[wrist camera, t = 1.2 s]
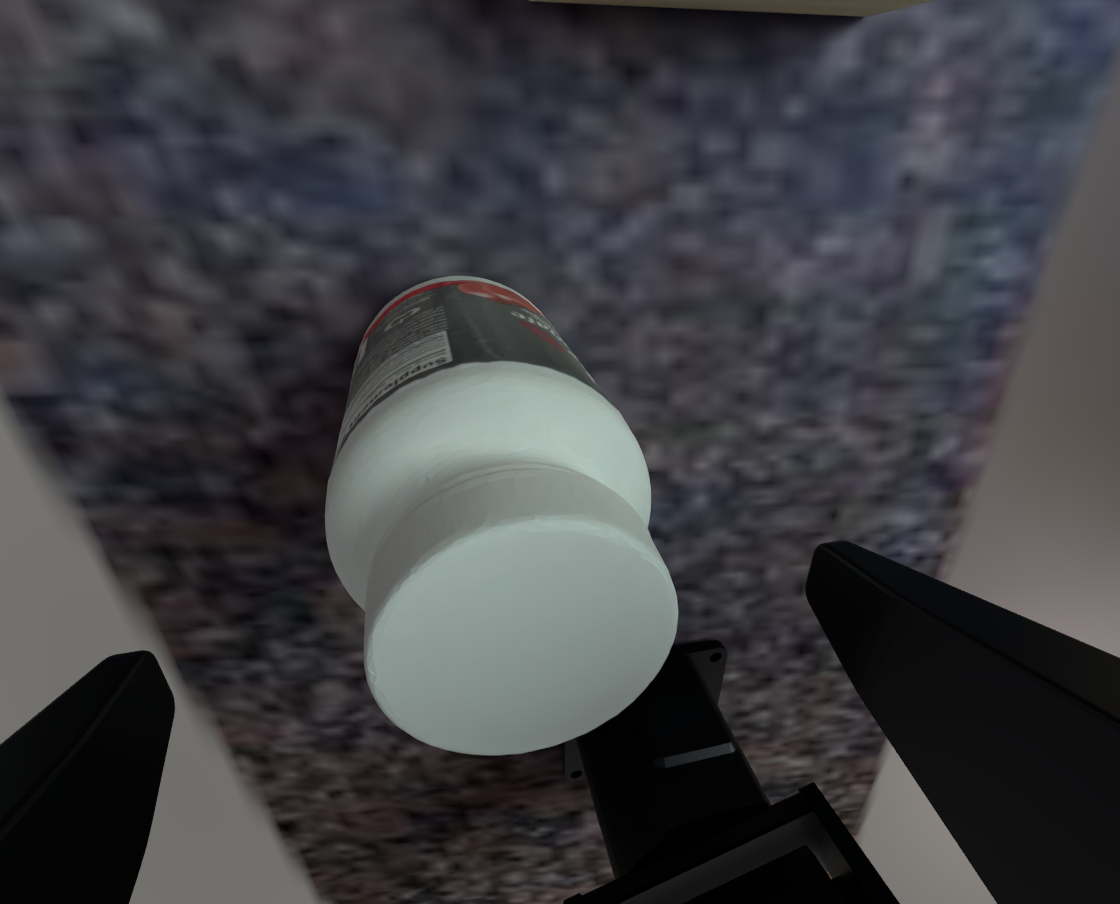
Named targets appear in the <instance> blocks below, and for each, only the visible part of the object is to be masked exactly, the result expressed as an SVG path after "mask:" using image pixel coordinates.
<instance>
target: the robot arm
mask: <svg viewBox="0 0 1120 904" xmlns="http://www.w3.org/2000/svg"><path fill="white" fill-rule="evenodd" d="M805 591H806V596H807V600H808V602H809V604H810V606H811V608H812V610H813V612H814V613H815V615H816V617H817V619H818V621H819V623H820V625H821V627H822V628H823V630H824V632H825V634H826V636H827V638H828V640H829V641H830V643H831V645H832V647H833V649H834V651H835V653H836V654H837V656H838V658H839V660H840V662H841V664H842V666H843V668H844V669H845V671H846V673H847V675H848V677H849V679H850V680H851V682H852V684H853V686H854V687H855V689H856V691H857V693H858V694H859V696H860V697H861V699H862V700H863V702H864V704H865V705H866V707H867V708H868V710H869V711H870V713H871V714H872V716H873V717H874V719H875V720H876V722H877V723H878V725H879V726H880V728H881V729H882V731H883V732H884V734H885V735H886V737H887V738H888V740H889V741H890V743H891V744H892V746H893V747H894V749H895V750H896V752H897V753H898V755H899V756H900V758H901V759H902V761H903V762H904V764H905V765H906V767H907V768H908V770H909V771H910V773H911V774H912V776H913V777H914V779H915V781H916V782H917V784H918V785H919V787H920V788H921V790H922V791H923V792H924V794H925V795H926V797H927V798H928V800H929V802H930V803H931V805H932V806H933V808H934V809H935V810H936V812H937V814H938V815H939V817H940V818H941V819H942V821H943V823H944V824H945V826H946V827H947V829H948V830H949V832H950V833H951V835H952V836H953V838H954V839H955V840H956V842H957V843H958V845H959V847H960V848H961V850H962V851H963V853H964V854H965V856H966V857H967V859H968V860H969V862H970V863H971V865H972V866H973V868H974V869H975V871H976V872H977V874H978V875H979V877H980V878H981V880H982V881H983V883H984V884H985V886H986V887H987V889H988V890H989V892H990V893H991V895H992V896H993V898H994V899H995V901H996V902H997V904H1120V658H1119V657H1116V656H1114V655H1112V654H1109V653H1107V652H1105V651H1102V650H1100V649H1098V648H1095V647H1093V646H1091V645H1088V644H1086V643H1084V642H1081V641H1079V640H1077V639H1074V638H1072V637H1070V636H1067V635H1065V634H1063V633H1060V632H1058V631H1056V630H1053V629H1051V628H1049V627H1046V626H1044V625H1042V624H1039V623H1037V622H1035V621H1032V620H1030V619H1028V618H1025V617H1023V616H1021V615H1018V614H1016V613H1014V612H1011V611H1009V610H1007V609H1004V608H1002V607H1000V606H997V605H995V604H993V603H990V602H988V601H986V600H983V599H981V598H979V597H976V596H974V595H972V594H969V593H967V592H965V591H962V590H960V589H958V588H955V587H953V586H951V585H948V584H946V583H944V582H941V581H939V580H937V579H934V578H932V577H930V576H927V575H925V574H923V573H920V572H918V571H916V570H913V569H911V568H909V567H906V566H904V565H902V564H899V563H897V562H895V561H893V560H890V559H888V558H886V557H883V556H881V555H879V554H876V553H874V552H872V551H869V550H867V549H865V548H862V547H860V546H858V545H855V544H853V543H851V542H848V541H835V542H828V543H823V544H820V545H818V547H817V548H816V549H815V551H814V554H813V558H812V562H811V566H810V569H809V573H808V577H807V581H806V586H805ZM726 659H727V651H726V649H725V647H724V646H723V644H722V643H721V642H720V641H718V640H712V641H707V642H702V643H696V644H691V645H686V646H680V647H675V648H671V649H670V652H669V655H668V657H667V658H666V660H665V662H664V664H663V666H662V667H661V669H660V671H659V672H658V674H657V675H656V676H655V678H654V679H653V680H652V681H651V682H650V683H649V685H648V686H647V688H646V689H645V690H644V691H643V692H642V693H641V694H640V695H639V696H638V697H637V698H636V699H635V700H634V701H633V702H632V703H631V704H630V705H628V706H627V707H626V708H625V709H624V710H622V711H621V712H620V713H619V714H618V715H616V716H615V717H613V718H611V719H609V720H608V721H606V722H605V723H603V724H601V725H600V726H598V727H597V728H595V729H593V730H591V731H590V732H588V733H585V734H583V735H581V736H578V737H576V738H573V739H571V740H568V741H566V742H563V754H562V768H563V772H564V776H565V780H567V781H568V782H577V781H581V780H586V779H587V782H588V785H589V789H590V792H591V796H592V800H593V803H594V807H595V810H596V814H597V817H598V821H599V825H600V828H601V832H602V835H603V839H604V842H605V846H606V849H607V853H608V857H609V860H610V864H611V867H612V871H613V874H614V878H615V880H614V881H612V882H609V883H607V884H605V885H603V886H601V887H599V888H597V889H595V890H593V891H591V892H588V893H586V894H584V895H581V894H580V893H578V894H576V895H574V896H572V897H570V898H568V899H566V900H564V901H563V904H900V903H899V902H898V901H897V899H896V898H895V896H894V895H893V893H892V892H891V891H890V889H889V888H888V886H887V885H886V884H885V882H884V881H883V879H882V878H881V876H880V875H879V874H878V872H877V871H876V869H875V868H874V867H873V865H872V864H871V862H870V861H869V859H868V858H867V857H866V855H865V854H864V852H863V851H862V850H861V848H860V847H859V845H858V844H857V842H856V841H855V840H854V838H853V837H852V835H851V834H850V833H849V831H848V830H847V828H846V827H845V825H844V824H843V823H842V821H841V820H840V818H839V817H838V816H837V814H836V813H835V811H834V810H833V808H832V807H831V806H830V804H829V803H828V801H827V800H826V799H825V797H824V796H823V794H822V793H821V791H820V790H819V789H818V787H817V786H816V784H815V783H814V782H812V783H810V784H808V785H805V786H803V787H801V788H799V789H798V791H799V793H797V794H795V795H792V796H790V797H788V798H786V799H784V800H782V801H780V802H778V803H776V804H774V805H771V803H770V801H769V800H768V798H767V796H766V794H765V792H764V790H763V789H762V787H761V785H760V783H759V781H758V779H757V778H756V776H755V774H754V772H753V770H752V768H751V766H750V765H749V763H748V761H747V759H746V757H745V755H744V754H743V752H742V750H741V748H740V746H739V744H738V743H737V741H736V739H735V737H734V735H733V733H732V732H731V730H730V728H729V726H728V724H727V722H726V720H725V719H724V717H723V715H722V713H721V711H720V709H719V708H718V706H717V705H718V700H719V695H720V690H721V685H722V680H723V674H724V669H725V664H726ZM174 703H175V702H174V697H173V694H172V691H171V689H170V687H169V685H168V683H167V681H166V679H165V676H164V674H163V672H162V670H161V668H160V666H159V664H158V661H157V659H156V658H155V656H154V655H153V654H152V653H151V652H149V651H144V650H142V651H135V652H129V653H123V654H117V655H113V656H110V657H108V658H106V659H105V660H103V661H102V662H100V663H99V664H98V665H97V666H96V667H94V668H93V669H92V670H91V671H89V672H88V673H87V674H86V675H85V676H83V677H82V678H81V679H80V680H79V681H77V682H76V683H75V684H74V685H72V686H71V687H70V688H69V689H67V690H66V691H65V692H64V693H63V694H61V695H60V696H59V697H58V698H56V699H55V700H54V701H53V702H52V703H50V704H49V705H48V706H47V707H46V708H44V709H43V710H42V711H41V712H39V713H38V714H37V715H36V716H35V717H33V718H32V719H31V720H30V721H28V722H27V723H26V724H25V725H24V726H22V727H21V728H20V729H19V730H17V731H16V732H15V733H14V734H13V735H11V736H10V737H9V738H8V739H6V740H5V741H4V742H3V743H2V744H0V904H129V901H130V898H131V895H132V892H133V889H134V886H135V883H136V880H137V877H138V873H139V870H140V867H141V863H142V860H143V857H144V853H145V849H146V846H147V842H148V838H149V834H150V829H151V825H152V821H153V816H154V811H155V806H156V801H157V796H158V792H159V786H160V782H161V777H162V772H163V767H164V762H165V757H166V753H167V748H168V743H169V738H170V733H171V728H172V723H173V719H174V712H175V704H174ZM827 871H829V873H830V875H831V877H832V879H830V877H829V876H828V874H827Z"/></svg>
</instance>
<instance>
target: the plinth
mask: <svg viewBox="0 0 1120 904" xmlns="http://www.w3.org/2000/svg"><path fill="white" fill-rule="evenodd" d="M529 1H533V2H555V3H577V4H599V5H621V6H642V7H664V8H686V9H708V10H729V11H751V12H773V13H795V14H817V15H838V16H860V17H868V16H872V15H876V14H880V13H884V12H888V11H892V10H896V9H901V8H905V7H909V6H913V5H917V4H921V3H925V2H930V1H934V0H529Z"/></svg>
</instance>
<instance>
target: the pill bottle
mask: <svg viewBox="0 0 1120 904" xmlns="http://www.w3.org/2000/svg"><path fill="white" fill-rule="evenodd" d="M650 510H651V487H650V480H649V474H648V470H647V466H646V462H645V459H644V457H643V454H642V451H641V449H640V447H639V444H638V442H637V440H636V438H635V437H634V435H633V433H632V432H631V430H630V428H629V427H628V425H627V424H626V422H625V420H624V419H623V417H622V415H621V414H620V412H619V411H618V409H617V408H616V407H615V406H614V405H613V404H612V402H611V401H610V400H609V399H608V398H607V397H606V396H605V395H604V393H603V392H602V391H601V389H600V388H599V386H598V385H597V383H596V382H595V381H594V380H593V378H592V377H591V376H590V375H589V373H588V372H587V371H586V370H585V368H584V367H583V366H582V364H581V363H580V362H579V360H578V359H577V358H576V356H575V355H574V354H573V352H572V351H571V350H570V349H569V347H568V346H567V345H566V344H565V342H564V341H563V339H562V338H561V337H560V336H559V334H558V333H557V331H556V330H555V328H554V327H553V326H552V324H551V323H550V322H549V321H548V320H547V319H546V318H545V317H544V316H543V314H542V313H541V312H540V311H539V310H538V309H537V308H536V307H535V306H534V305H533V304H532V303H531V302H530V301H529V300H527V299H526V298H525V297H523V296H522V295H521V294H519V293H517V292H516V291H514V290H512V289H511V288H509V287H506V286H504V285H502V284H500V283H497V282H494V281H491V280H487V279H483V278H478V277H469V276H448V277H442V278H436V279H432V280H429V281H426V282H423V283H420V284H418V285H416V286H414V287H412V288H410V289H408V290H406V291H404V292H402V293H401V294H400V295H398V296H397V297H395V298H394V299H392V300H391V301H390V302H389V303H388V304H386V305H385V306H384V307H383V309H382V310H381V311H380V312H379V313H378V315H377V316H376V317H375V319H374V320H373V321H372V323H371V324H370V326H369V327H368V329H367V330H366V333H365V335H364V337H363V340H362V342H361V345H360V348H359V351H358V354H357V358H356V360H355V364H354V370H353V375H352V378H351V383H350V390H349V394H348V398H347V403H346V408H345V413H344V417H343V422H342V426H341V430H340V434H339V439H338V444H337V449H336V453H335V458H334V463H333V467H332V470H331V473H330V477H329V479H328V487H327V496H326V508H325V530H326V539H327V545H328V550H329V554H330V558H331V561H332V563H333V566H334V568H335V571H336V573H337V575H338V577H339V578H340V580H341V582H342V584H343V586H344V587H345V588H346V590H347V591H348V593H349V594H350V596H351V597H352V598H353V599H354V601H355V602H356V603H357V604H358V605H359V606H360V607H361V608H362V609H363V610H364V611H365V629H364V667H365V672H366V677H367V683H368V685H369V688H370V690H371V693H372V695H373V697H374V699H375V701H376V702H377V704H378V705H379V707H380V708H381V710H382V711H383V713H384V714H385V715H386V716H387V717H388V718H389V719H390V720H391V721H392V722H393V723H394V724H395V725H396V726H397V727H399V728H400V729H402V730H403V731H405V732H406V733H408V734H410V735H411V736H413V737H414V738H416V739H418V740H420V741H422V742H424V743H426V744H428V745H431V746H434V747H437V748H441V749H444V750H448V751H454V752H458V753H465V754H473V755H507V754H521V753H526V752H530V751H535V750H539V749H543V748H548V747H552V746H555V745H558V744H561V743H563V742H566V741H568V740H571V739H573V738H576V737H578V736H581V735H583V734H585V733H588V732H590V731H591V730H593V729H595V728H597V727H598V726H600V725H601V724H603V723H605V722H606V721H608V720H609V719H611V718H613V717H615V716H616V715H618V714H619V713H620V712H621V711H622V710H624V709H625V708H626V707H627V706H628V705H630V704H631V703H632V702H633V701H634V700H635V699H636V698H637V697H638V696H639V695H640V694H641V693H642V692H643V691H644V690H645V689H646V688H647V686H648V685H649V683H650V682H651V681H652V680H653V679H654V678H655V676H656V675H657V674H658V672H659V671H660V669H661V667H662V666H663V664H664V662H665V660H666V658H667V657H668V655H669V652H670V649H671V647H672V645H673V642H674V639H675V635H676V630H677V621H678V604H677V596H676V591H675V588H674V585H673V583H672V580H671V577H670V574H669V571H668V569H667V567H666V565H665V564H664V562H663V560H662V558H661V556H660V554H659V552H658V551H657V549H656V547H655V545H654V543H653V541H652V539H651V536H650V533H649V531H648V529H647V528H648V524H649V519H650Z"/></svg>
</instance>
